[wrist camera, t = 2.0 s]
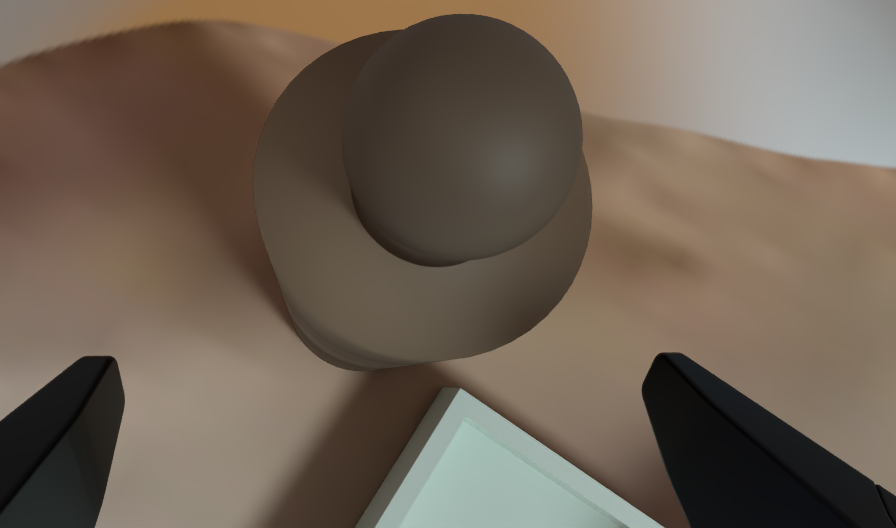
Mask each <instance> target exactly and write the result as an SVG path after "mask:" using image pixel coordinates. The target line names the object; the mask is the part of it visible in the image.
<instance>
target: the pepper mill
mask: <svg viewBox="0 0 896 528" xmlns="http://www.w3.org/2000/svg"><path fill="white" fill-rule="evenodd" d="M582 142H583V133H582V119H581V114H580V108H579V105H578V102H577V99H576V95H575V93H574V90H573V88H572V85H571V83H570V81H569V79H568V77H567V75H566V73H565V72H564V70H563V69H562V67H561V65H560V64H559V63H558V61H557V60H556V59H555V58H554V56H553V55H552V54H551V53H550V52H549V51H548V50H547V49H546V48H545V47H544V46H543V45H542V44H541V43H539V42H538V41H537V40H536V39H535V38H534V37H532V36H531V35H529V34H528V33H526V32H525V31H523V30H521V29H519V28H517V27H515V26H514V25H512V24H509V23H507V22H504V21H502V20H499V19H495V18H491V17H487V16H482V15H474V14H453V15H444V16H439V17H434V18H430V19H427V20H424V21H422V22H419V23H417V24H414V25H412V26H409V27H408V28H406V29H404V30H395V31H385V32H379V33H375V34H371V35H367V36H363V37H359V38H357V39H354V40H352V41H349V42H346V43H344V44H341V45H339V46H338V47H336V48H334V49H332V50H330V51H328V52H327V53H325V54H323V55H322V56H320V57H319V58H318V59H316V60H315V61H314V62H312V63H311V64H310V65H308V66H307V67H306V68H304V69H303V70H302V71H301V72H300V73H299V74H298V75H297V76H296V77H295V78H294V79H293V80H292V81H291V82H290V84H289V85H288V86H287V88H286V89H285V90H284V92H283V93H282V94H281V96H280V97H279V98H278V100H277V101H276V103H275V105H274V107H273V109H272V110H271V112H270V114H269V116H268V118H267V120H266V122H265V125H264V128H263V130H262V133H261V136H260V139H259V142H258V147H257V152H256V157H255V161H254V175H253V193H254V205H255V212H256V216H257V220H258V225H259V229H260V233H261V236H262V239H263V241H264V244H265V247H266V250H267V252H268V255H269V258H270V261H271V264H272V266H273V269H274V272H275V275H276V278H277V280H278V283H279V286H280V289H281V291H282V294H283V297H284V300H285V303H286V305H287V308H288V311H289V314H290V317H291V319H292V322H293V325H294V327H295V330H296V331H297V333H298V335H299V337H300V338H301V340H302V341H303V342H304V344H305V345H306V346H307V347H308V348H309V349H310V350H311V351H312V352H313V353H314V354H315V355H317V356H318V357H319V358H320V359H322V360H324V361H326V362H327V363H329V364H331V365H334V366H336V367H339V368H343V369H347V370H354V371H370V370H378V369H385V368H392V367H400V366H407V365H415V364H422V363H430V362H437V361H445V360H452V359H459V358H466V357H471V356H475V355H478V354H482V353H485V352H489V351H492V350H494V349H496V348H499V347H501V346H503V345H505V344H508V343H510V342H512V341H514V340H515V339H517V338H518V337H520V336H522V335H523V334H525V333H526V332H528V331H530V330H531V329H532V328H533V327H534V326H536V325H537V324H538V323H539V322H540V321H542V320H543V319H544V318H545V317H546V316H547V315H548V314H549V313H550V312H551V311H552V310H553V309H554V307H555V306H556V305H557V304H558V303H559V302H560V301H561V299H562V298H563V296H564V295H565V293H566V292H567V290H568V289H569V287H570V286H571V284H572V282H573V280H574V278H575V276H576V274H577V272H578V270H579V268H580V266H581V263H582V260H583V257H584V255H585V252H586V249H587V245H588V240H589V235H590V230H591V219H592V193H591V183H590V178H589V173H588V167H587V164H586V161H585V157H584V154H583V151H582Z"/></svg>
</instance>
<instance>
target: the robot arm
mask: <svg viewBox="0 0 896 528" xmlns="http://www.w3.org/2000/svg"><path fill="white" fill-rule="evenodd" d="M642 397H643V400H644V403H645V407H646V410H647V413H648V416H649V419H650V422H651V425H652V429H653V432H654V435H655V438H656V441H657V444H658V447H659V451H660V454H661V457H662V460H663V463H664V466H665V469H666V471H667V474H668V477H669V479H670V481H671V484H672V486H673V489H674V491H675V493H676V496H677V498H678V500H679V503H680V505H681V507H682V509H683V512H684V514H685V516H686V519H687V521H688V523H689V526H690V528H896V496H895V495H893V494H892V493H890V492H889V491H887V490H886V489H884V488H883V487H881V486H880V485H875V484H874V482H873V481H872V480H871V479H869V478H868V477H866V476H865V475H863V474H862V473H860V472H859V471H857V470H856V469H854V468H853V467H851V466H850V465H848V464H847V463H845V462H844V461H842V460H841V459H839V458H838V457H836V456H835V455H833V454H832V453H830V452H829V451H827V450H826V449H824V448H823V447H821V446H820V445H818V444H817V443H815V442H814V441H812V440H811V439H809V438H808V437H806V436H805V435H803V434H802V433H800V432H799V431H797V430H796V429H794V428H793V427H791V426H790V425H788V424H787V423H785V422H784V421H782V420H781V419H779V418H778V417H776V416H775V415H773V414H772V413H770V412H769V411H767V410H766V409H764V408H763V407H761V406H760V405H758V404H757V403H756V402H754V401H753V400H751V399H750V398H748V397H747V396H745V395H744V394H742V393H741V392H739V391H738V390H736V389H735V388H733V387H732V386H730V385H729V384H727V383H726V382H724V381H723V380H721V379H720V378H718V377H717V376H715V375H714V374H712V373H711V372H709V371H708V370H706V369H705V368H703V367H702V366H700V365H699V364H697V363H696V362H694V361H693V360H691V359H690V358H688V357H687V356H685V355H684V354H682V353H677V352H672V353H659V354H658V355H657V356H656V357H655V359H654V361H653V363H652V365H651V367H650V369H649V371H648V373H647V375H646V377H645V380H644V382H643V385H642ZM124 405H125V395H124V390H123V385H122V381H121V377H120V372H119V368H118V364H117V361H116V359H115V358H114V357H112V356H85V357H82V358H80V359H78V360H77V361H76V362H75V363H73V364H72V365H71V366H69V367H68V368H67V369H66V370H64V371H63V372H62V373H61V374H59V375H58V376H57V377H55V378H54V379H53V380H52V381H50V382H49V383H48V384H47V385H45V386H44V387H43V388H42V389H40V390H39V391H38V392H36V393H35V394H34V395H33V396H31V397H30V398H29V399H28V400H26V401H25V402H24V403H23V404H21V405H20V406H19V407H17V408H16V409H15V410H14V411H12V412H11V413H10V414H9V415H7V416H6V417H5V418H4V419H2V420H1V421H0V528H94V527H95V525H96V522H97V519H98V516H99V512H100V509H101V506H102V503H103V499H104V495H105V491H106V486H107V482H108V477H109V473H110V469H111V464H112V460H113V455H114V451H115V447H116V442H117V438H118V433H119V429H120V425H121V420H122V416H123V411H124Z"/></svg>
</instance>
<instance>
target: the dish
mask: <svg viewBox="0 0 896 528" xmlns="http://www.w3.org/2000/svg"><path fill="white" fill-rule="evenodd" d="M355 528H664V527H663V526H661V525H660V524H658V523H657V522H655V521H654V520H652V519H651V518H650V517H648V516H647V515H645V514H644V513H642V512H641V511H639V510H638V509H636V508H635V507H633V506H632V505H631V504H629V503H628V502H626V501H625V500H623V499H622V498H620V497H619V496H617V495H616V494H615V493H613V492H612V491H610V490H609V489H607V488H606V487H604V486H603V485H601V484H600V483H598V482H597V481H596V480H594V479H593V478H591V477H590V476H588V475H587V474H585V473H584V472H582V471H581V470H579V469H578V468H577V467H575V466H574V465H572V464H571V463H569V462H568V461H566V460H565V459H563V458H562V457H560V456H559V455H558V454H556V453H555V452H553V451H552V450H550V449H549V448H547V447H546V446H544V445H543V444H542V443H540V442H539V441H537V440H536V439H534V438H533V437H531V436H530V435H528V434H527V433H525V432H524V431H523V430H521V429H520V428H518V427H517V426H515V425H514V424H512V423H511V422H509V421H508V420H506V419H505V418H504V417H502V416H501V415H499V414H498V413H496V412H495V411H493V410H492V409H490V408H489V407H487V406H486V405H485V404H483V403H482V402H480V401H479V400H477V399H476V398H474V397H473V396H471V395H470V394H469V393H467V392H466V391H464V390H463V389H461V388H453V387H442V389H441V390H440V392H439V393H438V395H437V397H436V398H435V400H434V401H433V403H432V405H431V406H430V408H429V409H428V411H427V413H426V414H425V416H424V417H423V419H422V421H421V422H420V424H419V425H418V427H417V429H416V430H415V432H414V433H413V435H412V437H411V438H410V440H409V441H408V443H407V445H406V446H405V448H404V449H403V451H402V453H401V454H400V456H399V457H398V459H397V461H396V462H395V464H394V465H393V467H392V469H391V470H390V472H389V473H388V475H387V477H386V478H385V480H384V481H383V483H382V485H381V486H380V488H379V489H378V491H377V493H376V494H375V496H374V497H373V499H372V501H371V502H370V504H369V505H368V507H367V509H366V510H365V512H364V513H363V515H362V517H361V518H360V520H359V521H358V523H357V525H356V526H355Z"/></svg>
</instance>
